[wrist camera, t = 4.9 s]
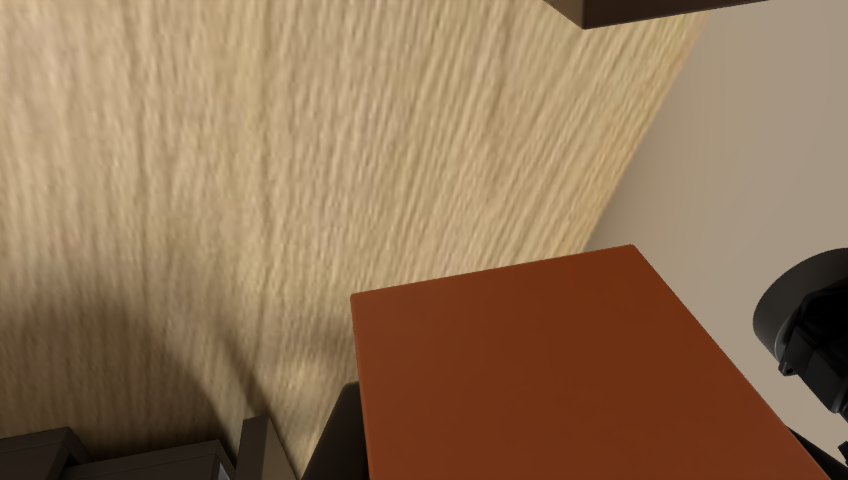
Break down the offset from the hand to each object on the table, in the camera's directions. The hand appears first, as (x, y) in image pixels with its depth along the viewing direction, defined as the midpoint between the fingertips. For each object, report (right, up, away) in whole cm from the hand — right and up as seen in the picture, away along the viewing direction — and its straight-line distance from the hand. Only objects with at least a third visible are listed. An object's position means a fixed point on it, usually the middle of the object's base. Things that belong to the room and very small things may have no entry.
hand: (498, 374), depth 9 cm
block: (0, 0, 0) cm, 0 cm away
